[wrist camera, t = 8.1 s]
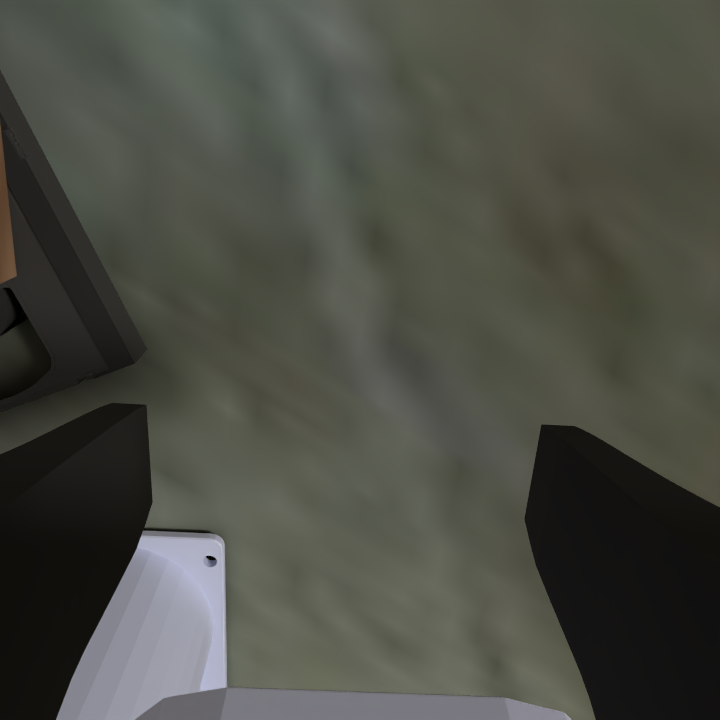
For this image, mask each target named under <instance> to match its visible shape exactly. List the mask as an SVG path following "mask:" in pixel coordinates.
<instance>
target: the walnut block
mask: <svg viewBox="0 0 720 720" xmlns="http://www.w3.org/2000/svg"><path fill="white" fill-rule="evenodd" d="M16 276H17V273H16V264H15V255H14V246H13V236H12V227H11V218H10V209H9V199H8V190H7V181H6V171H5V162H4V153H3V144H2V135H1V126H0V284H1V283H3V282H5V281H7V280H9V279H12V278H14V277H16Z"/></svg>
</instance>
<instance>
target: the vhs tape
mask: <svg viewBox="0 0 720 720" xmlns="http://www.w3.org/2000/svg"><path fill="white" fill-rule="evenodd" d="M0 126H1V135H2V144H3V153H4V162H5V171H6V181H7V190H8V199H9V209H10V218H11V227H12V236H13V246H14V255H15V264H16V273H17V276H16V277H14V278H12V279H9V280H7V281H5V282H3V283H1V284H0V336H2V335H3V334H5V333H7V332H8V331H9V330H10V329H12V328H14V327H15V324H16V322H17V321H18V319H19V317H20V314H21V310H22V308H23V310H24V312H25V313H26V315H27V317H28V318H29V320H30V322H31V324H32V325H33V327H34V329H35V331H36V332H37V334H38V336H39V337H40V339H41V341H42V343H43V344H44V346H45V348H46V350H47V351H48V353H49V355H50V357H51V368H50V370H49V372H47V373H46V374H45V375H44V376H43V377H42V378H41V379H40V380H39V381H38V382H37V383H36V384H34V385H33V386H31V387H29V388H28V389H26V390H25V391H23V392H20V393H18V394H16V395H14V396H11V397H8V398H5V399H1V400H0V412H2V411H5V410H8V409H11V408H13V407H16V406H19V405H22V404H24V403H27V402H30V401H33V400H35V399H38V398H41V397H43V396H46V395H49V394H52V393H54V392H57V391H60V390H63V389H65V388H68V387H71V386H74V385H76V384H79V383H80V382H81V381H83V380H84V379H85V378H86V379H87V380H88V379H93V378H96V377H99V376H102V375H105V374H107V373H110V372H113V371H115V370H118V369H121V368H124V367H126V366H129V365H132V364H134V363H135V362H136V361H137V360H138V359H139V358H140V356H141V355H142V354H143V353H144V352H145V351H146V347H145V345H144V343H143V341H142V339H141V337H140V335H139V333H138V332H137V330H136V328H135V326H134V324H133V322H132V320H131V318H130V316H129V314H128V313H127V311H126V309H125V307H124V305H123V303H122V301H121V299H120V297H119V295H118V294H117V292H116V290H115V288H114V286H113V284H112V282H111V280H110V278H109V276H108V275H107V273H106V271H105V269H104V267H103V265H102V263H101V261H100V259H99V257H98V255H97V254H96V252H95V250H94V248H93V246H92V244H91V242H90V240H89V238H88V236H87V235H86V233H85V231H84V229H83V227H82V225H81V223H80V221H79V219H78V217H77V216H76V214H75V212H74V210H73V208H72V206H71V204H70V202H69V200H68V198H67V197H66V195H65V193H64V191H63V189H62V187H61V185H60V183H59V181H58V179H57V177H56V176H55V174H54V172H53V170H52V168H51V166H50V164H49V162H48V160H47V158H46V157H45V155H44V153H43V151H42V149H41V147H40V145H39V143H38V141H37V139H36V137H35V136H34V134H33V132H32V130H31V128H30V126H29V124H28V122H27V120H26V118H25V117H24V115H23V113H22V111H21V109H20V107H19V105H18V103H17V101H16V99H15V98H14V96H13V94H12V92H11V90H10V88H9V86H8V84H7V82H6V80H5V78H4V77H3V75H2V73H1V71H0ZM28 318H27V319H28ZM27 319H26V320H27ZM24 321H25V320H24ZM22 322H23V321H22ZM22 322H21V323H22ZM19 324H20V323H19ZM17 325H18V324H17ZM17 325H16V326H17Z"/></svg>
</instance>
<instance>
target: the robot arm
mask: <svg viewBox="0 0 720 720" xmlns="http://www.w3.org/2000/svg"><path fill="white" fill-rule="evenodd" d="M151 505H152V487H151V471H150V455H149V439H148V423H147V407H146V405H140V404H120V403H111V404H108V405H105V406H102V407H100V408H98V409H95V410H93V411H91V412H89V413H87V414H85V415H82V416H80V417H78V418H76V419H74V420H72V421H70V422H68V423H66V424H64V425H62V426H60V427H58V428H56V429H54V430H52V431H50V432H48V433H46V434H44V435H42V436H40V437H38V438H36V439H34V440H32V441H30V442H27V443H25V444H23V445H21V446H19V447H16V448H14V449H12V450H10V451H7V452H5V453H3V454H1V455H0V720H571V719H570V718H569V717H568V716H567V715H566V714H565V713H564V712H560V711H556V710H552V709H548V708H544V707H540V706H536V705H532V704H528V703H524V702H520V701H516V700H512V699H508V698H504V697H497V696H470V695H442V694H415V693H387V692H360V691H332V690H305V689H277V688H249V687H227V653H226V589H225V544H224V541H223V539H222V538H221V537H220V536H218V535H216V534H211V533H188V532H165V531H143V530H144V527H145V524H146V521H147V517H148V514H149V511H150V508H151ZM525 523H526V527H527V531H528V536H529V540H530V544H531V548H532V552H533V556H534V559H535V563H536V566H537V569H538V571H539V574H540V577H541V579H542V581H543V584H544V586H545V589H546V591H547V594H548V596H549V599H550V601H551V604H552V606H553V608H554V611H555V613H556V615H557V618H558V620H559V623H560V625H561V627H562V630H563V632H564V635H565V637H566V639H567V642H568V644H569V647H570V649H571V651H572V654H573V656H574V658H575V661H576V663H577V666H578V668H579V670H580V673H581V676H582V679H583V681H584V684H585V687H586V690H587V692H588V695H589V698H590V701H591V705H592V708H593V711H594V715H595V718H596V720H720V507H718V506H716V505H714V504H712V503H710V502H708V501H706V500H704V499H702V498H701V497H699V496H697V495H695V494H693V493H691V492H689V491H687V490H686V489H684V488H682V487H680V486H678V485H676V484H675V483H673V482H671V481H669V480H668V479H666V478H664V477H662V476H661V475H659V474H657V473H656V472H654V471H652V470H651V469H649V468H647V467H646V466H644V465H642V464H641V463H639V462H637V461H636V460H634V459H632V458H631V457H629V456H627V455H626V454H624V453H622V452H621V451H619V450H617V449H616V448H614V447H613V446H611V445H609V444H608V443H606V442H604V441H603V440H601V439H599V438H597V437H596V436H594V435H592V434H590V433H588V432H586V431H584V430H582V429H580V428H578V427H575V426H560V425H541V430H540V436H539V441H538V447H537V452H536V458H535V464H534V469H533V475H532V480H531V486H530V491H529V497H528V503H527V508H526V514H525ZM206 556H213V557H215V558H216V560H208V559H207V558H206Z"/></svg>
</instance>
